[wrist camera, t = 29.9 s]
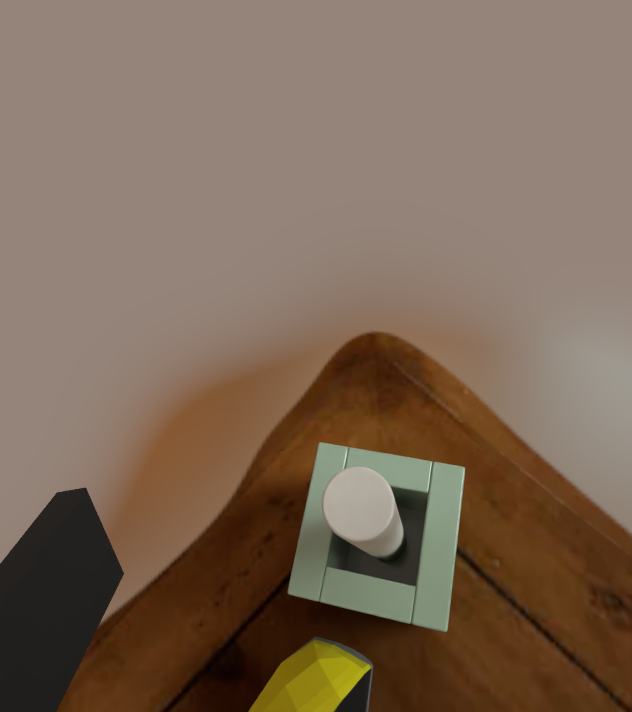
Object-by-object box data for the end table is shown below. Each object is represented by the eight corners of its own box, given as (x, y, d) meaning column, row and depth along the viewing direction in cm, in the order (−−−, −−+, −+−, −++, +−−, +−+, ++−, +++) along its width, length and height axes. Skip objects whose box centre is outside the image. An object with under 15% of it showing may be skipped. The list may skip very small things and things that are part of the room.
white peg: (409, 525, 25) (399, 472, 13) (403, 566, 24) (387, 549, 13) (370, 517, 25) (328, 459, 14) (364, 557, 25) (313, 533, 13)
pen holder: (455, 493, 26) (465, 466, 20) (440, 621, 24) (447, 633, 18) (340, 472, 27) (318, 441, 21) (317, 591, 25) (286, 594, 19)
